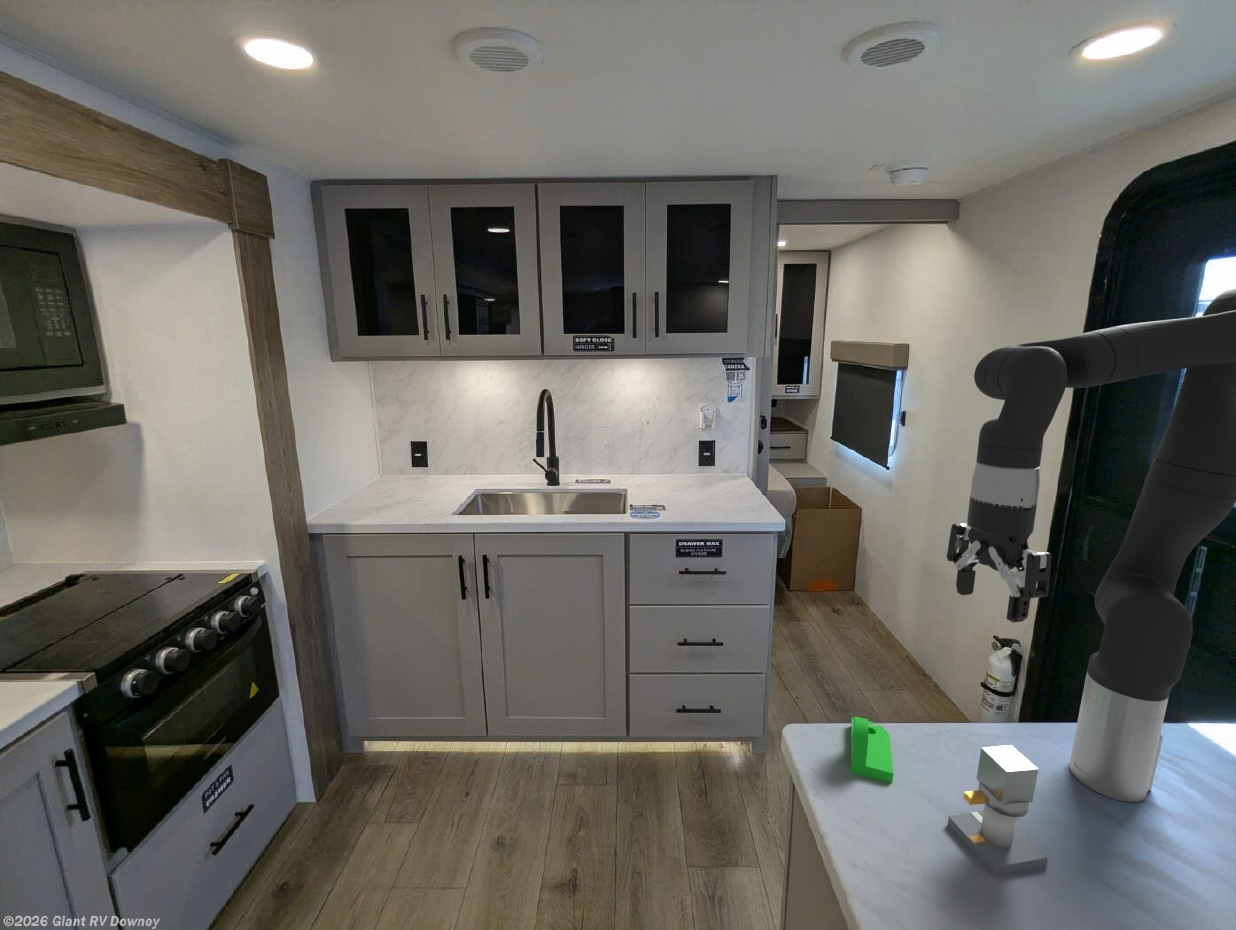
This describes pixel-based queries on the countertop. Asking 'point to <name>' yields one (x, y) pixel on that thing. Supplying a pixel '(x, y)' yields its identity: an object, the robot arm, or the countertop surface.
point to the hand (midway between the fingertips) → (988, 606)
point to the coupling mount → (997, 841)
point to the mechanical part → (870, 750)
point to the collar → (1004, 781)
